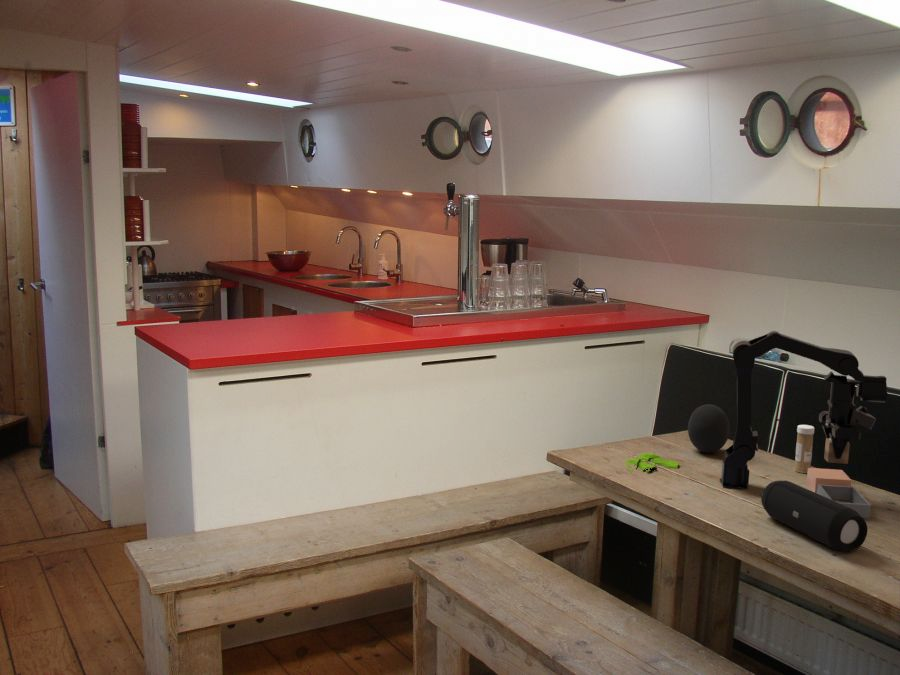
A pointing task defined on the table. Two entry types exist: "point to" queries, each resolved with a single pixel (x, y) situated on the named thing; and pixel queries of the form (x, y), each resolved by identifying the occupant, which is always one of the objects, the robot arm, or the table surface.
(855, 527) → the portable speaker
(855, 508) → the charcoal bin
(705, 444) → the decorative egg
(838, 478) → the terracotta stand
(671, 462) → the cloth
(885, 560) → the table surface
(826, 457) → the walnut box
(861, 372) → the robot arm
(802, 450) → the sprinkles bottle
